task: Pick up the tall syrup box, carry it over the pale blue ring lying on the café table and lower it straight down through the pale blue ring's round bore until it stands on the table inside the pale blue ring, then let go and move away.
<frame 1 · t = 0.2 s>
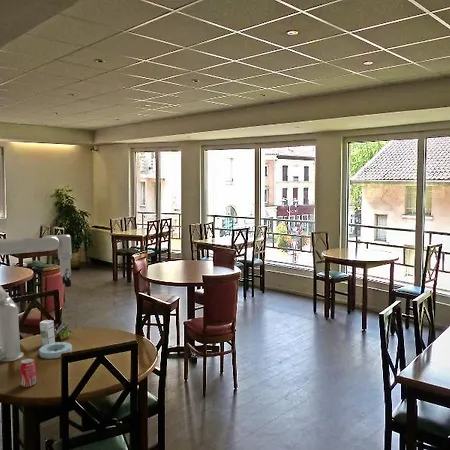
hand: (66, 285, 278), 36 cm above the table, tool pointing down, fingers open, 9 cm apart
syrup box: (48, 345, 284), on the table
passion flower: (64, 337, 297), on the table
pale blue ring: (56, 352, 271), on the table
soda can: (28, 385, 229), on the table
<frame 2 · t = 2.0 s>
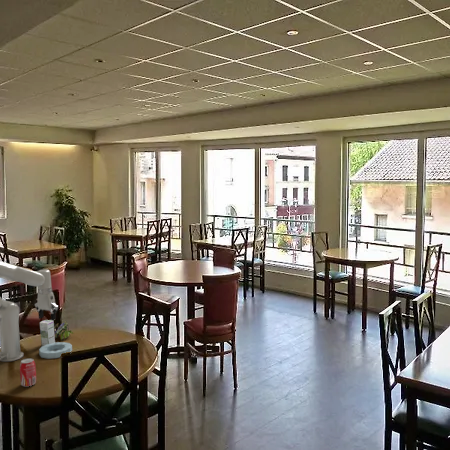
hand: (47, 318, 283), 16 cm above the table, tool pointing down, fingers open, 9 cm apart
nothing on the table moved.
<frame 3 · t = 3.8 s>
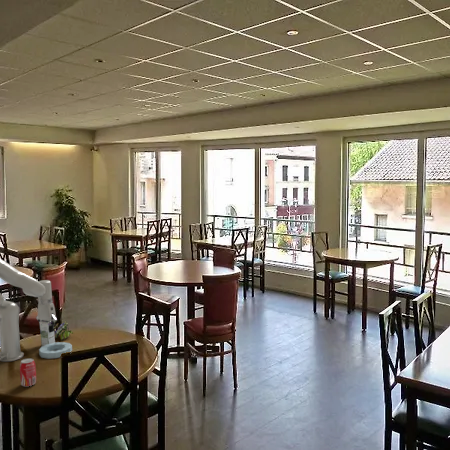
hand: (47, 330, 283), 9 cm above the table, tool pointing down, fingers closed on syrup box, 6 cm apart
syrup box: (48, 345, 284), on the table, touching gripper
everything else where it was.
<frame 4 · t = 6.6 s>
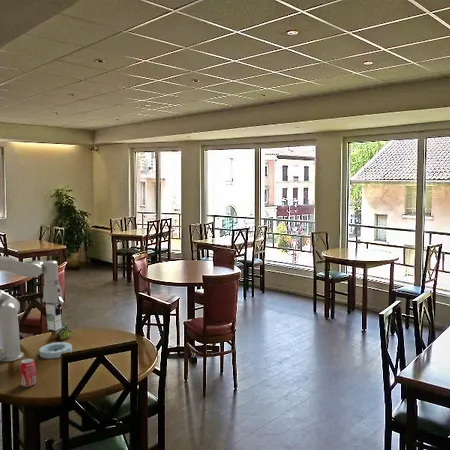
hand: (53, 314, 268), 23 cm above the table, tool pointing down, fingers closed on syrup box, 6 cm apart
syrup box: (54, 329, 269), point 14 cm above the table, touching gripper
everything else where it was.
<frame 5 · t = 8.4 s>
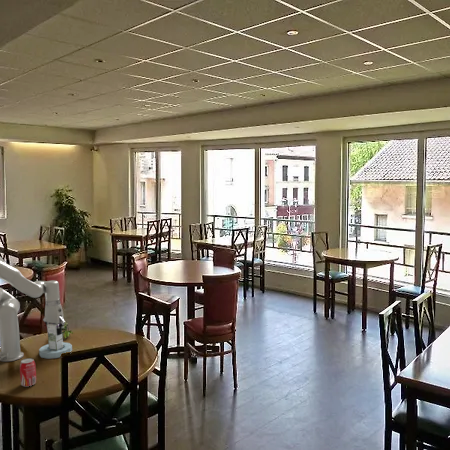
hand: (54, 333, 269), 11 cm above the table, tool pointing down, fingers closed on syrup box, 6 cm apart
syrup box: (56, 348, 270), point 2 cm above the table, touching gripper
everything else where it was.
when the fingers open (10 cm above the table, at t = 9.6 s): syrup box drops 1 cm, resting in pale blue ring.
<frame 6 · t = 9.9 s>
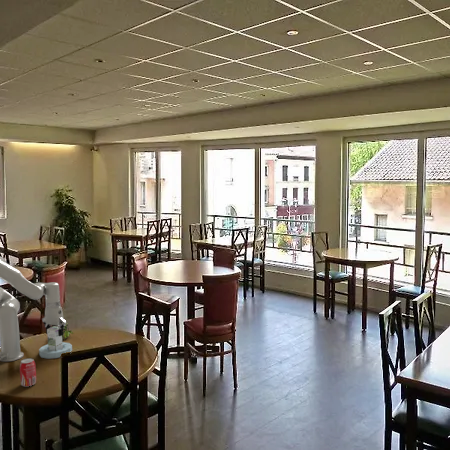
hand: (54, 334, 269), 11 cm above the table, tool pointing down, fingers open, 8 cm apart
syrup box: (55, 353, 271), resting in pale blue ring
everything else where it was.
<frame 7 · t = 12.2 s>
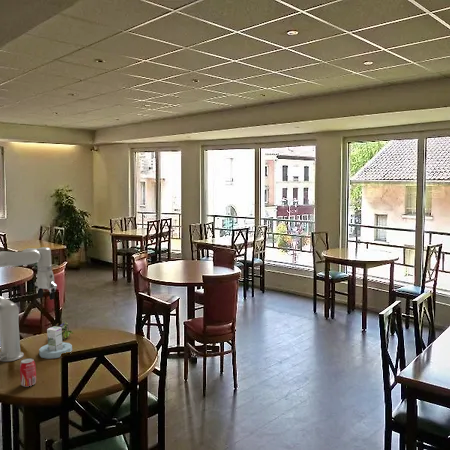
hand: (46, 298, 275), 30 cm above the table, tool pointing down, fingers open, 9 cm apart
nothing on the table moved.
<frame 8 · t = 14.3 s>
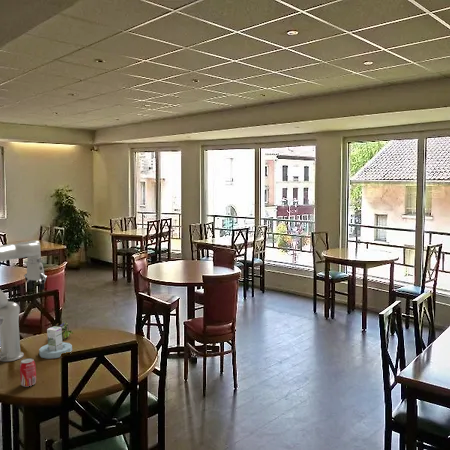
hand: (36, 289, 287), 32 cm above the table, tool pointing down, fingers open, 9 cm apart
nothing on the table moved.
at the end: syrup box 0.1 cm from the pale blue ring (horizontally); syrup box resting in pale blue ring; syrup box tilted 0° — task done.
